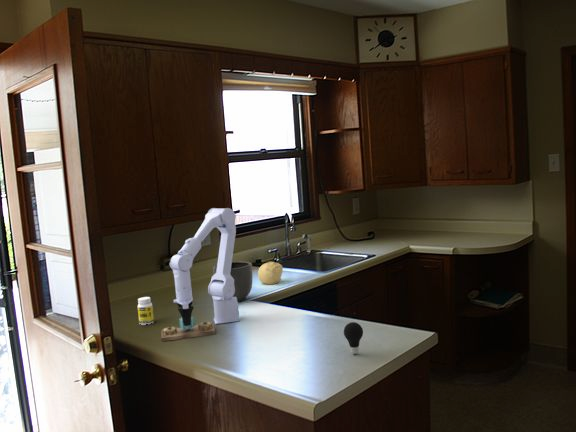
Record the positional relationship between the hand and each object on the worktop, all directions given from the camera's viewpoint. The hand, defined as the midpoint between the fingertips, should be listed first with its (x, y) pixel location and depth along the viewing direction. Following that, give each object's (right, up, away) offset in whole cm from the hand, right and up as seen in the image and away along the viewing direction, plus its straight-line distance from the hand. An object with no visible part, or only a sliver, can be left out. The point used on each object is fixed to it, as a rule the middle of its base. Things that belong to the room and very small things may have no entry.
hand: (187, 323), depth 202 cm
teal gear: (0, -1, 0) cm, 1 cm away
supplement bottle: (-20, -4, +19) cm, 27 cm away
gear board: (0, -4, 0) cm, 4 cm away
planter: (+14, +2, +43) cm, 45 cm away
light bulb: (+58, -3, -34) cm, 67 cm away
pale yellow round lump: (+29, +6, +72) cm, 77 cm away
